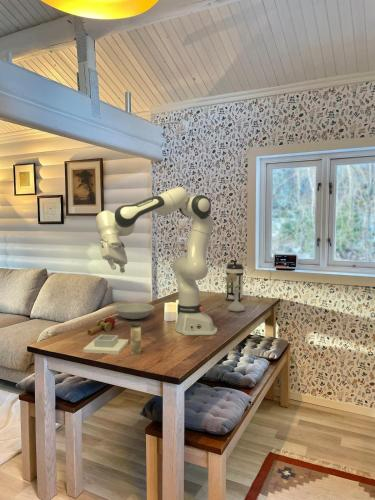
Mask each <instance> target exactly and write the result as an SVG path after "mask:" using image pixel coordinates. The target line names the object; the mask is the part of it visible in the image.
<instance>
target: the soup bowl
mask: <svg viewBox="0 0 375 500" xmlns="http://www.w3.org/2000/svg"><path fill="white" fill-rule="evenodd" d="M113 310H114V311H116V312H117V314H118V315H119V316H121V318H124V319H127V320H139V319H144V318H146V317H147V316H149V315H150V313H152V311H154V310H155V306H154V305H152V304H150V303H145V302H143V303H142V302H127V303H121V304H117V305H115V306H114V307H113Z"/></svg>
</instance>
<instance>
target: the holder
mask: <svg viewBox="0 0 375 500" xmlns="http://www.w3.org/2000/svg"><path fill="white" fill-rule="evenodd" d="M128 344H129V339H123V338H119V335H117V334H115V335H113V334H100V335H99V336H97V337H95V338H94V339H93V340H91V342H90V343H88V344H87V345H86V346H84V348H83V349H82V353H86V354H87V353H88V354H89V353H90V354H102V353H104V355H105V353H106V355H119V354H120V353H121V352H122V351H123V350H124V348H125V347H126V346H127V345H128Z"/></svg>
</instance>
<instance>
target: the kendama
mask: <svg viewBox="0 0 375 500" xmlns="http://www.w3.org/2000/svg"><path fill="white" fill-rule="evenodd" d="M115 325H116V319H114V317H111V316H110V317H106V318H105V319H99V320H97V322H96V326H94V327H92V328H89V329H87V331H86V332H87V335H89V336H92V335H93V334H95V333H97V332H98V331H100V330H102V329H104V331H105V332H109V331H111V330H112V329H113V328H114V327H115Z"/></svg>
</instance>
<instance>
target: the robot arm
mask: <svg viewBox="0 0 375 500" xmlns="http://www.w3.org/2000/svg"><path fill="white" fill-rule="evenodd" d="M211 209H212V203H211V200H210V198H209V197H208V196H205V195H203V194H198V195H190V194H189V193H188V191H187V190H186V189H185V188H184V187H182V186H177V187H174V188H171V189H168V190H166V191H165V190H164V192H162V193H160V194H158V195H154V196H150V197H147V198H146V199H143V200H141V201H139V202H136V203H135V202H134V203H133V204H123V205H120V206H119V207H118V208H116V210H115V212H112V211H110V210H102V211H100V212H99V213H98V214H97V215H96V217H95V225H96V230H97V233H98V234H99V241H100V245H99V248H100V249H99V250H100V254H101V257H102V259H103V260H106V261H107V264H108V265H109V266H110V269H111V270H113V271H114V270H116V269H117V266H116V265H118V266H119V271H120V273H121V274H123V273H125V272H126V269H125V265H128V256H127V252H126V250H125V248H126V246H125V244H124V243H123V242H122V240H121V238H120V237H124V236H125V237H126V236H129V235H131V234H132V233H133V232H134V230H135V226H136V222H137V221H138V219H139V218H140V217H142V216H144V215H146V214H147V215H148V214H149V213H151V212H155V213H156V214H157V215H159V216H162V217H164V216H167V215H170V214H172V213H173V212H176V211H179V213H181V215H182V216H184V217H187V218H192V226H191V228H190V231H189V234H188V237H187V241H186V248H187V256H180V257H177V258H175V259H174V260H173V262H172V264H171V268H172V271H173V273H174V275H175V278H176V283H177V288H178V289H177V290H178V303H177V309H176V310H177V311H176V312H177V320H176V326H175V330H174V331H175V332H177V333H179V334H182V335H184V336H215V335H216V334H217V333H218V327H216V326H215V325H214V322H213V319H212V317H211V316H209V315H208V314H207V313H206V312H204V306H203V304H200V288H199V286H198V284H197V281H199V280H203V279H205V278H206V276H207V275H208V272H209V266H208V264H207V260H206V257H207V256H206V255H207V248H208V247H209V246H208V245H209V242H210V238H211V235H212V232H213V228H214V227H213V226H214V218H213V217H212V216H211V213H212V210H211Z"/></svg>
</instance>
